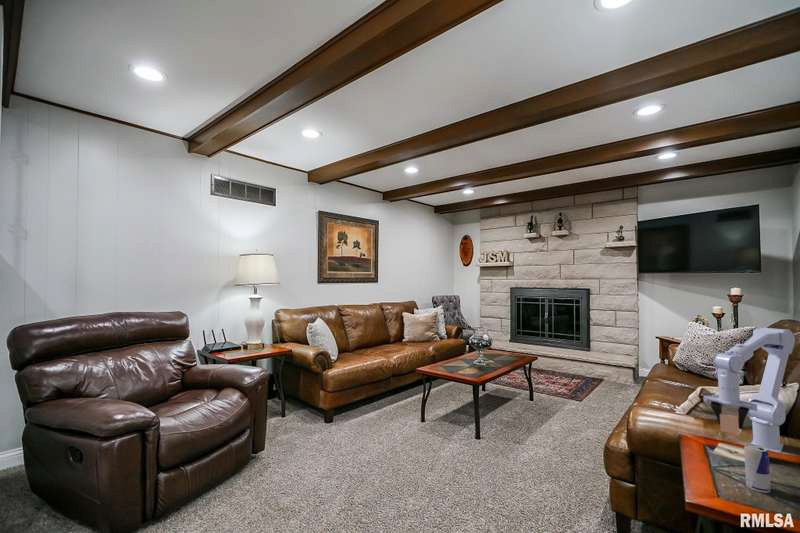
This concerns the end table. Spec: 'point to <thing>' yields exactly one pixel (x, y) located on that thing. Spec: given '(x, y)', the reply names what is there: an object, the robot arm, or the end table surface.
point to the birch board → (730, 451)
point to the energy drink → (757, 468)
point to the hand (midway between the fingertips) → (730, 426)
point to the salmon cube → (729, 423)
